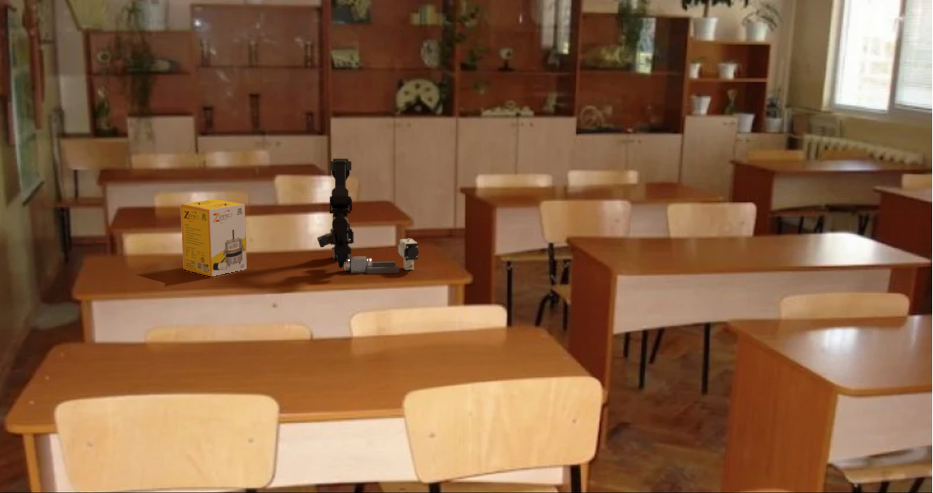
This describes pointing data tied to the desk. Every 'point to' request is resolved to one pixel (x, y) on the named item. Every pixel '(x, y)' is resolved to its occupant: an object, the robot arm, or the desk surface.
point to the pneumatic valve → (408, 252)
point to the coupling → (358, 264)
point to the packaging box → (213, 236)
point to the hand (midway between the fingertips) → (340, 267)
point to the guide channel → (383, 267)
